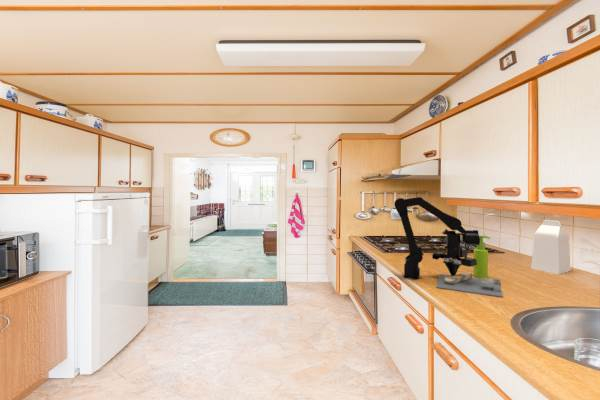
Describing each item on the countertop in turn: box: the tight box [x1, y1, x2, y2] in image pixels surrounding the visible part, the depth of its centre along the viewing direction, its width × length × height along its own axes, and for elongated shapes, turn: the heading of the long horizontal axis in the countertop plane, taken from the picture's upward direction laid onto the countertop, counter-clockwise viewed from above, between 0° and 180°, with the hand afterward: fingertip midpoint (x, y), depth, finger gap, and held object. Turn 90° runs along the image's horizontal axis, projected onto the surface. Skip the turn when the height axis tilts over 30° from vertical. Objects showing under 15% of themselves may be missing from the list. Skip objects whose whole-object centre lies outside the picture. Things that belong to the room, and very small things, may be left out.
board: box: [435, 273, 504, 298], centre depth 130 cm, size 24×22×1 cm
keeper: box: [480, 277, 502, 292], centre depth 123 cm, size 7×5×4 cm
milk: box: [530, 219, 571, 275], centre depth 151 cm, size 12×12×26 cm
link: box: [445, 271, 473, 284], centre depth 134 cm, size 17×4×3 cm, turn 120°
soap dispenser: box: [473, 235, 491, 279], centre depth 141 cm, size 6×7×20 cm
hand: (453, 276), depth 136 cm, fingers closed
